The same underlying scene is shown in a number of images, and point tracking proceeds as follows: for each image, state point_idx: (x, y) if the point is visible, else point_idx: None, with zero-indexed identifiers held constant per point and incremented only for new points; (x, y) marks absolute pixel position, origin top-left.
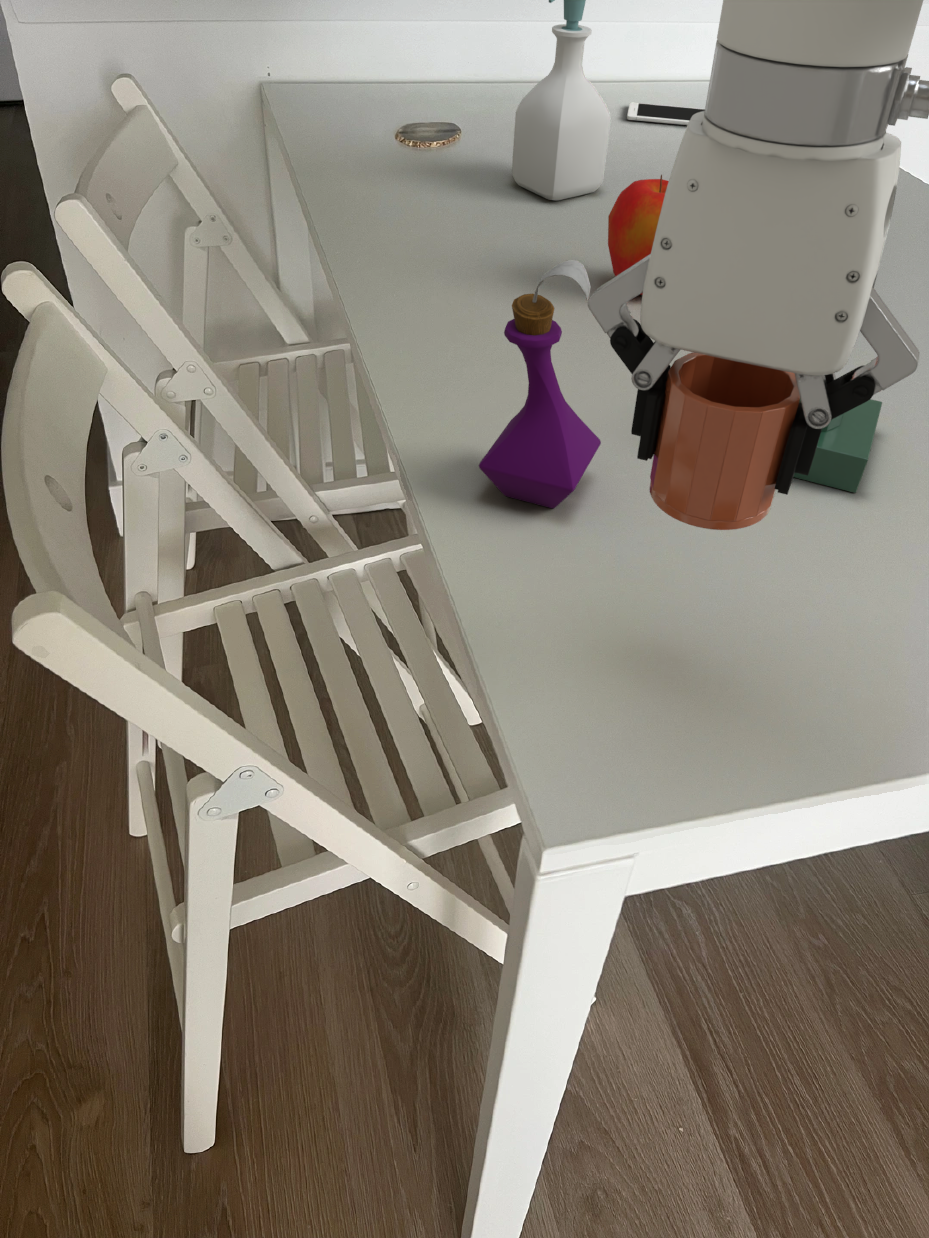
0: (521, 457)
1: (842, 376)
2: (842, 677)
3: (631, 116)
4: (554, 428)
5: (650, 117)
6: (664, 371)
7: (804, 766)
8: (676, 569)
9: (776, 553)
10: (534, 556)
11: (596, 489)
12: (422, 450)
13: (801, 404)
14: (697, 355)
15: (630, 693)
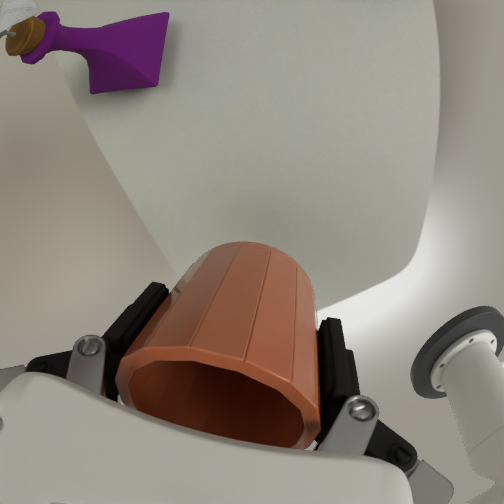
0: (108, 82)
1: (372, 455)
2: (385, 201)
3: None
4: (113, 60)
5: None
6: (115, 384)
7: (352, 280)
8: (263, 109)
9: (341, 69)
10: (157, 134)
11: (185, 37)
12: (72, 64)
13: (327, 394)
14: (133, 369)
15: None
